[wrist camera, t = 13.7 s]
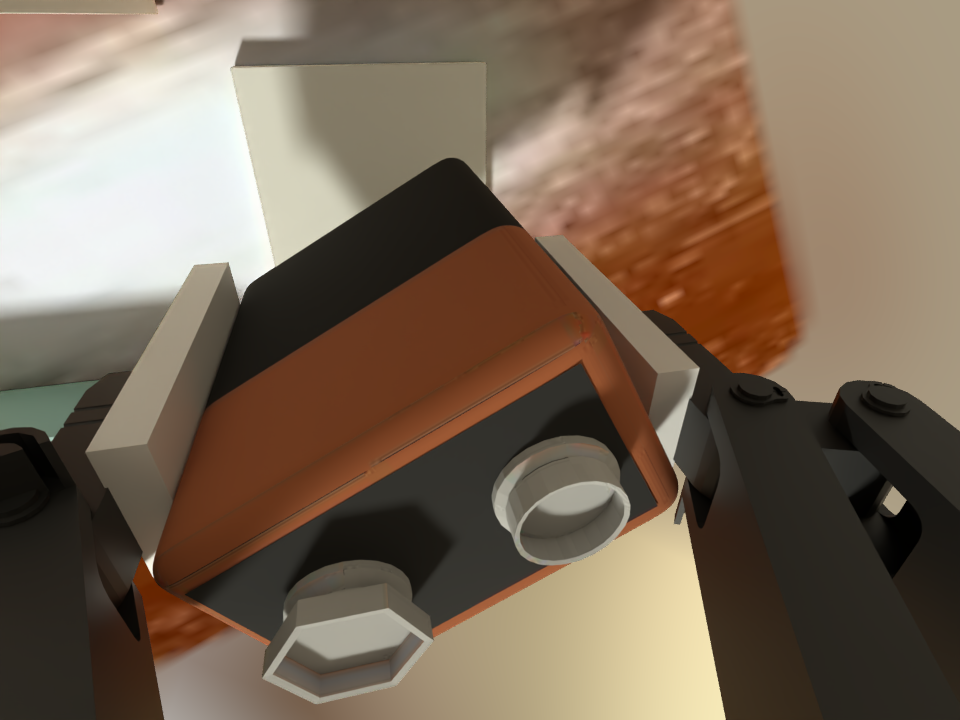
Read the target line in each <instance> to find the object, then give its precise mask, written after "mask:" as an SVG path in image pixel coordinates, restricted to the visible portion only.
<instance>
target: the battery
mask: <svg viewBox="0 0 960 720" xmlns="http://www.w3.org/2000/svg"><path fill="white" fill-rule="evenodd" d="M677 493H678V480H677V477H676V474H675V472H674V470H673V467H672V465H671V463H670V461H669V459H668V457H667V454H666V452H665V450H664V448H663V446H662V444H661V442H660V440H659V437H658V435H657V433H656V431H655V429H654V427H653V425H652V423H651V421H650V418H649V416H648V414H647V412H646V410H645V408H644V406H643V404H642V402H641V399H640V397H639V395H638V393H637V391H636V389H635V387H634V385H633V383H632V380H631V378H630V376H629V374H628V372H627V370H626V368H625V366H624V364H623V361H622V359H621V357H620V355H619V353H618V351H617V349H616V347H615V345H614V342H613V340H612V338H611V336H610V334H609V332H608V330H607V328H606V326H605V324H604V322H603V320H602V318H601V317H600V315H599V314H598V312H597V311H596V310H595V309H594V307H593V306H592V305H591V304H590V303H589V301H588V300H587V299H586V298H585V297H584V296H583V295H582V294H581V292H580V291H579V290H578V289H577V288H576V287H575V286H574V285H573V283H572V282H571V281H570V280H569V279H568V278H567V277H566V276H565V274H564V273H563V272H562V271H561V270H560V269H559V268H558V266H557V265H556V264H555V263H554V262H553V261H552V260H551V259H550V257H549V256H548V255H547V254H546V253H545V252H544V251H543V250H542V248H541V247H540V246H539V245H538V244H537V243H536V242H535V241H534V239H533V238H532V237H531V236H530V235H529V234H528V233H527V231H526V230H525V229H524V228H523V227H522V226H521V225H520V224H519V222H518V221H517V220H516V219H515V218H514V217H513V216H512V215H511V213H510V212H509V211H508V210H507V209H506V208H505V207H504V206H503V204H502V203H501V202H500V201H499V200H498V199H497V198H496V196H495V195H494V194H493V193H492V192H491V191H490V190H489V189H488V187H487V186H486V185H485V184H484V183H483V182H482V181H481V180H480V178H479V177H478V176H477V175H476V174H475V173H474V172H473V171H472V169H471V168H470V167H469V166H468V165H467V164H466V163H465V162H464V161H462V160H460V159H458V158H446V159H443V160H441V161H439V162H437V163H436V164H434V165H432V166H431V167H429V168H427V169H426V170H424V171H423V172H421V173H420V174H418V175H417V176H415V177H413V178H412V179H410V180H409V181H407V182H406V183H404V184H403V185H401V186H400V187H398V188H396V189H395V190H393V191H392V192H390V193H389V194H387V195H386V196H384V197H383V198H381V199H380V200H378V201H376V202H375V203H373V204H372V205H370V206H369V207H367V208H366V209H364V210H363V211H361V212H359V213H358V214H356V215H355V216H353V217H352V218H350V219H349V220H347V221H346V222H344V223H342V224H341V225H339V226H338V227H336V228H335V229H333V230H332V231H330V232H329V233H327V234H326V235H324V236H322V237H321V238H319V239H318V240H316V241H315V242H313V243H312V244H310V245H309V246H307V247H305V248H304V249H302V250H301V251H299V252H298V253H296V254H295V255H293V256H292V257H290V258H289V259H287V260H285V261H284V262H282V263H281V264H279V265H278V266H276V267H275V268H273V269H272V270H270V271H268V272H267V273H265V274H264V275H262V276H261V277H259V278H258V279H257V280H255V281H254V282H252V283H251V284H250V285H249V286H248V287H247V289H246V291H245V293H244V296H243V299H242V302H241V305H240V308H239V310H238V313H237V316H236V319H235V322H234V325H233V328H232V331H231V334H230V337H229V340H228V343H227V345H226V348H225V351H224V354H223V357H222V360H221V363H220V366H219V369H218V372H217V375H216V378H215V380H214V383H213V386H212V389H211V392H210V395H209V398H208V401H207V404H206V407H205V410H204V413H203V415H202V418H201V421H200V424H199V427H198V430H197V433H196V436H195V439H194V442H193V445H192V448H191V450H190V453H189V456H188V459H187V462H186V465H185V468H184V471H183V474H182V477H181V480H180V483H179V485H178V488H177V491H176V494H175V497H174V500H173V503H172V506H171V509H170V512H169V515H168V517H167V520H166V523H165V526H164V529H163V532H162V535H161V538H160V541H159V544H158V547H157V550H156V553H155V557H154V561H153V576H154V579H155V581H156V583H157V584H158V585H159V586H160V587H161V588H163V589H164V590H166V591H167V592H169V593H171V594H173V595H174V596H176V597H178V598H180V599H182V600H184V601H185V602H187V603H189V604H191V605H193V606H195V607H197V608H198V609H200V610H202V611H204V612H206V613H208V614H210V615H212V616H213V617H215V618H217V619H219V620H221V621H223V622H225V623H227V624H228V625H230V626H232V627H234V628H236V629H238V630H240V631H241V632H243V633H245V634H247V635H249V636H251V637H253V638H255V639H256V640H258V641H260V642H262V643H264V644H266V645H268V647H267V649H266V650H265V657H264V666H263V674H262V678H263V679H265V680H267V681H269V682H271V683H273V684H275V685H277V686H279V687H281V688H283V689H285V690H287V691H289V692H292V693H294V694H296V695H298V696H300V697H302V698H304V699H306V700H308V701H310V702H312V703H314V704H320V703H324V702H328V701H332V700H337V699H341V698H345V697H350V696H354V695H359V694H363V693H367V692H372V691H376V690H380V689H385V688H389V687H393V686H396V685H397V684H398V683H399V682H400V680H401V679H402V678H403V677H404V676H405V674H406V673H407V672H408V671H409V670H410V668H411V667H412V666H413V665H414V664H415V663H416V661H417V660H418V659H419V658H420V656H421V655H422V654H423V653H424V652H425V650H426V649H427V648H428V647H429V646H430V644H431V643H432V642H433V641H434V639H433V638H434V637H436V636H437V635H439V634H441V633H443V632H445V631H447V630H449V629H450V628H452V627H454V626H456V625H458V624H459V623H461V622H463V621H465V620H467V619H469V618H471V617H472V616H474V615H476V614H478V613H480V612H482V611H484V610H485V609H487V608H489V607H491V606H493V605H495V604H497V603H498V602H500V601H502V600H504V599H506V598H508V597H509V596H511V595H513V594H515V593H517V592H519V591H521V590H522V589H524V588H526V587H528V586H530V585H532V584H533V583H535V582H537V581H539V580H541V579H543V578H545V577H546V576H548V575H550V574H552V573H554V572H556V571H557V570H559V569H561V568H563V567H565V566H567V565H569V564H570V563H572V562H575V561H579V560H582V559H584V558H586V557H588V556H591V555H593V554H595V553H596V552H598V551H599V550H601V549H603V548H604V547H606V546H607V545H608V544H609V543H611V541H613V540H614V539H617V538H618V537H620V536H622V535H624V534H626V533H628V532H629V531H631V530H633V529H635V528H637V527H638V526H640V525H642V524H644V523H646V522H647V521H649V520H651V519H653V518H654V517H656V516H658V515H659V514H661V513H662V512H664V511H665V510H667V509H668V508H669V507H670V506H671V505H672V504H673V503H674V501H675V499H676V497H677Z"/></svg>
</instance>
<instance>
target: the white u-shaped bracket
mask: <svg viewBox="0 0 960 720" xmlns="http://www.w3.org/2000/svg"><path fill="white" fill-rule="evenodd" d="M0 14H158V11H157V7H156V3H155V0H0Z"/></svg>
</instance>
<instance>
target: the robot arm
mask: <svg viewBox="0 0 960 720" xmlns="http://www.w3.org/2000/svg"><path fill="white" fill-rule="evenodd" d="M535 242H536V243H537V244H538V245H539V246H540V247H541V248H542V250H543V251H544V252H545V253H546V254H547V255H548V256H549V257H550V259H551V260H552V261H553V262H554V263H555V264H556V265H557V266H558V268H559V269H560V270H561V271H562V272H563V273H564V274H565V276H566V277H567V278H568V279H569V280H570V281H571V282H572V283H573V285H574V286H575V287H576V288H577V289H578V290H579V291H580V292H581V294H582V295H583V296H584V297H585V298H586V299H587V300H588V301H589V303H590V304H591V305H592V306H593V307H594V309H595V310H596V311H597V312H598V314H599V315H600V317H601V318H602V320H603V322H604V324H605V326H606V328H607V330H608V332H609V334H610V336H611V338H612V340H613V342H614V345H615V347H616V349H617V351H618V353H619V355H620V357H621V359H622V361H623V364H624V366H625V368H626V370H627V372H628V374H629V376H630V378H631V380H632V383H633V385H634V387H635V389H636V391H637V393H638V395H639V397H640V399H641V402H642V404H643V406H644V408H645V410H646V412H647V414H648V416H649V418H650V421H651V423H652V425H653V427H654V429H655V431H656V433H657V435H658V437H659V440H660V442H661V444H662V446H663V448H664V450H665V452H666V454H667V457H668V459H669V461H670V463H671V465H672V467H673V465H674V462H675V463H676V464H677V465H678V466H679V468H680V469H681V470H682V472H683V473H684V474H685V476H686V478H685V482H684V485H683V489H682V492H681V496H680V499H679V503H678V506H677V509H676V513H675V520H674V524H680V523H681V520H682V516H683V514H684V513H686V519H687V524H688V528H689V534H690V538H691V544H692V549H693V554H694V559H695V564H696V570H697V575H698V580H699V585H700V590H701V595H702V600H703V605H704V610H705V615H706V620H707V625H708V631H709V636H710V641H711V646H712V651H713V656H714V661H715V666H716V671H717V677H718V681H719V687H720V692H721V697H722V701H723V707H724V712H725V717H726V720H960V431H959V430H957V429H956V428H955V427H953V426H952V425H951V424H950V423H948V422H947V421H946V420H945V419H943V418H942V417H941V416H940V415H938V414H937V413H936V412H934V411H933V410H932V409H931V408H929V407H928V406H927V405H926V404H924V403H923V402H922V401H920V400H918V399H917V398H916V397H914V396H912V395H911V394H909V393H908V392H905V391H903V390H900V389H898V388H896V387H895V386H892V385H889V384H886V383H884V384H882V383H881V382H876V381H860V380H859V381H858V380H857V381H852V382H847V383H845V384H844V385H843V386H842V387H840V389H839V391H838V393H837V395H836V397H835V399H834V402H833V403H821V402H807V401H795V399H794V398H793V396H792V395H791V394H790V393H789V392H788V391H787V389H785V388H783V387H782V386H780V385H779V384H777V383H776V382H774V381H771V380H769V379H766V378H763V377H761V376H757V375H751V374H746V373H732V372H731V371H730V370H729V369H728V368H727V367H725V366H724V365H723V364H722V363H721V362H720V361H719V360H718V359H717V358H715V357H714V356H713V355H712V354H711V353H710V352H709V351H708V350H707V349H705V348H704V347H703V346H702V345H701V344H698V343H697V340H695V339H694V338H693V337H692V336H691V335H690V334H687V333H686V332H687V331H685V330H684V329H683V328H682V327H681V326H680V325H679V324H678V323H677V322H675V321H674V320H673V319H671V318H669V317H667V316H665V315H663V314H661V313H659V312H657V311H654V310H649V311H640V310H639V309H638V308H637V307H636V306H635V305H634V304H633V303H632V302H631V301H630V300H629V299H628V298H627V297H626V296H625V295H624V294H623V293H622V292H621V291H620V290H619V289H618V288H617V287H616V286H615V285H614V284H612V283H611V282H610V281H609V280H608V279H607V278H606V277H605V276H604V275H603V274H602V273H601V272H600V271H599V270H598V269H597V268H596V267H595V266H594V265H593V264H592V263H591V262H590V261H589V260H588V259H587V258H586V257H585V256H584V255H583V254H581V253H580V252H579V251H578V250H577V249H576V248H575V247H574V246H573V245H572V244H571V243H570V242H569V241H568V240H567V239H566V238H565V237H564V236H563V235H557V236H545V237H535ZM239 308H240V303H239V299H238V295H237V292H236V288H235V285H234V281H233V277H232V274H231V270H230V267H229V263H228V262H227V263H215V264H203V265H194V266H193V268H192V270H191V272H190V273H189V275H188V277H187V278H186V280H185V282H184V284H183V285H182V287H181V289H180V290H179V292H178V294H177V296H176V297H175V299H174V301H173V302H172V304H171V306H170V308H169V309H168V311H167V313H166V314H165V316H164V318H163V320H162V321H161V323H160V325H159V326H158V328H157V330H156V332H155V333H154V335H153V337H152V339H151V340H150V342H149V344H148V345H147V347H146V349H145V351H144V352H143V354H142V356H141V357H140V359H139V361H138V363H137V364H136V366H135V368H134V369H133V371H127V372H118V373H109V374H107V375H106V376H105V377H103V378H102V379H101V380H99V381H98V382H97V383H95V384H94V385H93V386H91V387H90V388H89V389H87V390H86V391H85V393H84V394H83V396H82V397H81V399H80V400H79V402H78V403H77V405H76V406H75V408H74V412H71V413H70V415H69V416H68V418H67V419H66V421H65V422H64V424H63V425H64V428H60V430H59V431H58V433H57V434H56V436H55V437H54V439H53V440H52V441H50V439H49V437H48V435H47V434H46V432H45V431H42V430H39V429H36V428H33V427H13V428H8V429H4V430H0V720H164V716H163V711H162V705H161V700H160V694H159V688H158V683H157V677H156V672H155V666H154V661H153V655H152V650H151V644H150V639H149V633H148V628H147V622H146V617H145V611H144V606H143V601H142V596H141V595H140V593H139V591H138V589H137V588H136V586H135V584H134V582H133V581H132V580H133V578H134V575H135V572H136V569H137V567H138V564H139V561H140V559H141V556H142V557H143V559H144V561H145V563H146V565H147V566H148V568H149V570H150V572H151V574H152V576H153V561H154V557H155V553H156V550H157V547H158V544H159V541H160V538H161V535H162V532H163V529H164V526H165V523H166V520H167V517H168V515H169V512H170V509H171V506H172V503H173V500H174V497H175V494H176V491H177V488H178V485H179V483H180V480H181V477H182V474H183V471H184V468H185V465H186V462H187V459H188V456H189V453H190V450H191V448H192V445H193V442H194V439H195V436H196V433H197V430H198V427H199V424H200V421H201V418H202V415H203V413H204V410H205V407H206V404H207V401H208V398H209V395H210V392H211V389H212V386H213V383H214V380H215V378H216V375H217V372H218V369H219V366H220V363H221V360H222V357H223V354H224V351H225V348H226V345H227V343H228V340H229V337H230V334H231V331H232V328H233V325H234V322H235V319H236V316H237V313H238V310H239ZM893 486H894V487H895V488H896V489H897V490H898V491H899V492H900V493H901V495H902V496H903V497H904V498H905V499H906V500H907V501H906V503H905V504H904V506H903V507H902V509H901V510H900V512H899V513H898V514H897V515H894V514H893V513H892V512H890V511H889V510H888V509H887V508H886V507H885V506H884V505H883V502H884V500H885V498H886V496H887V495H888V493H889V492H890V490H891V488H892V487H893ZM153 577H154V576H153Z"/></svg>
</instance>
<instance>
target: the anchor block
mask: <svg viewBox="0 0 960 720" xmlns="http://www.w3.org/2000/svg"><path fill="white" fill-rule="evenodd" d="M98 381H99V380H94V381H85V382H77V383H68V384H59V385H51V386H42V387H34V388H25V389H16V390H8V391H0V430H4V429H8V428H13V427H33V428H36V429H39V430H42V431H45V432H46V434H47V435H48V437H49V439H50V441H52V440H53V439H54V437H55V436H56V434H57V433H58V431H59V430H60V428H64V425H63V424H64V422H65V421H66V419H67V418H68V416H69V415H70V413H71V412H74V408H75V406H76V405H77V403H78V402H79V400H80V399H81V397H82V396H83V394H84V393H85V391H86V390H87V389H89V388H90V387H91V386H93V385H94V384H95V383H97V382H98Z"/></svg>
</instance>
